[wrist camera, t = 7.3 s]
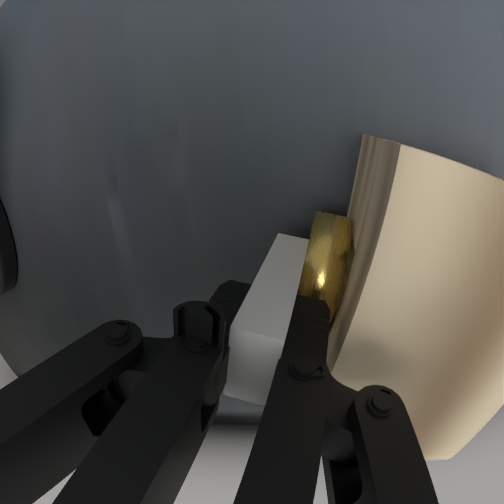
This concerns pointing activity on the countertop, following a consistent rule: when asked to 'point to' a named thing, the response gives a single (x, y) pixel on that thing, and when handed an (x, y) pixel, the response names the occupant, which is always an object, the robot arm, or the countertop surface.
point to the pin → (327, 259)
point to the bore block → (424, 291)
